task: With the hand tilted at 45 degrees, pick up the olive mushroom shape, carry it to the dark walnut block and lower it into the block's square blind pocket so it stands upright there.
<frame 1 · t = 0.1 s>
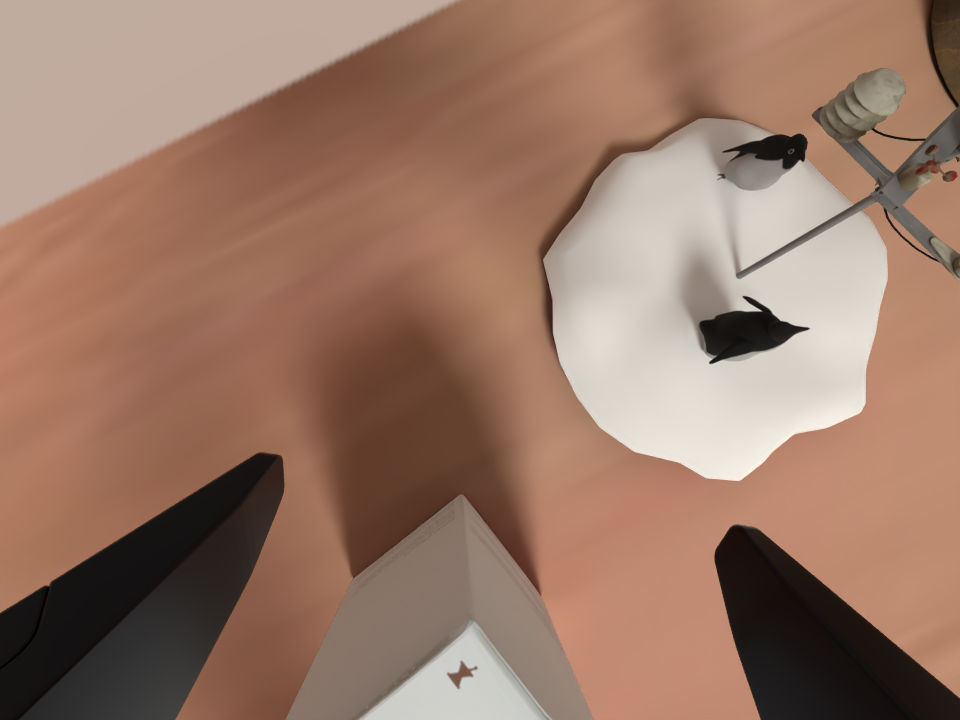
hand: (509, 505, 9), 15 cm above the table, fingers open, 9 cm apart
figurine: (708, 295, 25), on the table
supplement box: (448, 588, 23), on the table
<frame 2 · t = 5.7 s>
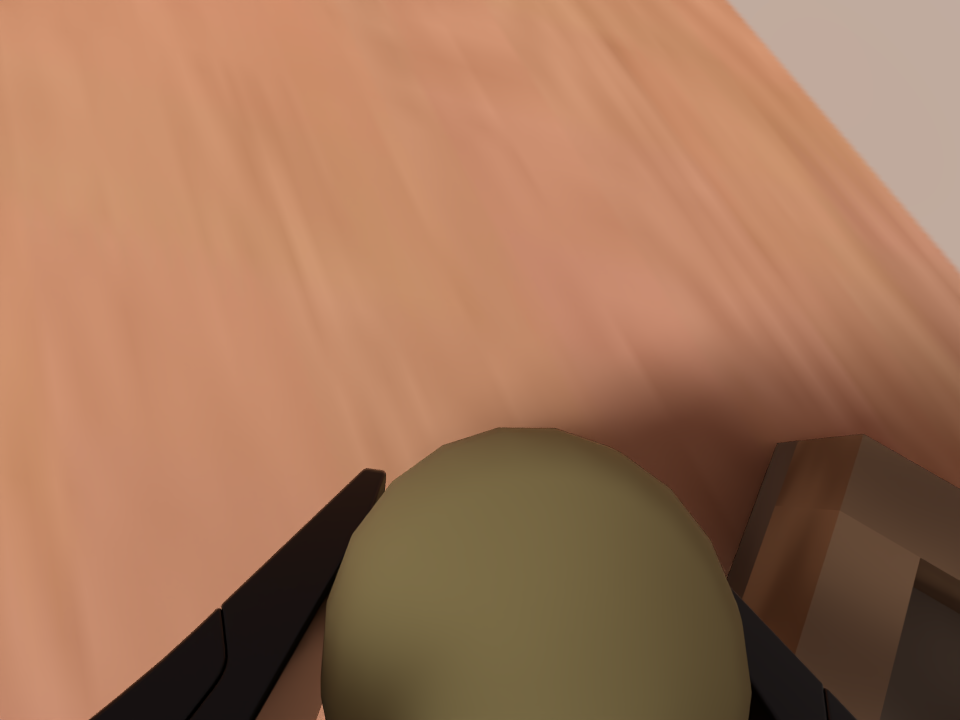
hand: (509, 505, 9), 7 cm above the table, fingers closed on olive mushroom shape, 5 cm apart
olive mushroom shape: (471, 537, 15), on the table, touching gripper
when the fingers open (9 cm above the table, at t = 9.6 s): olive mushroom shape stays where it is, resting on walnut pocket block.
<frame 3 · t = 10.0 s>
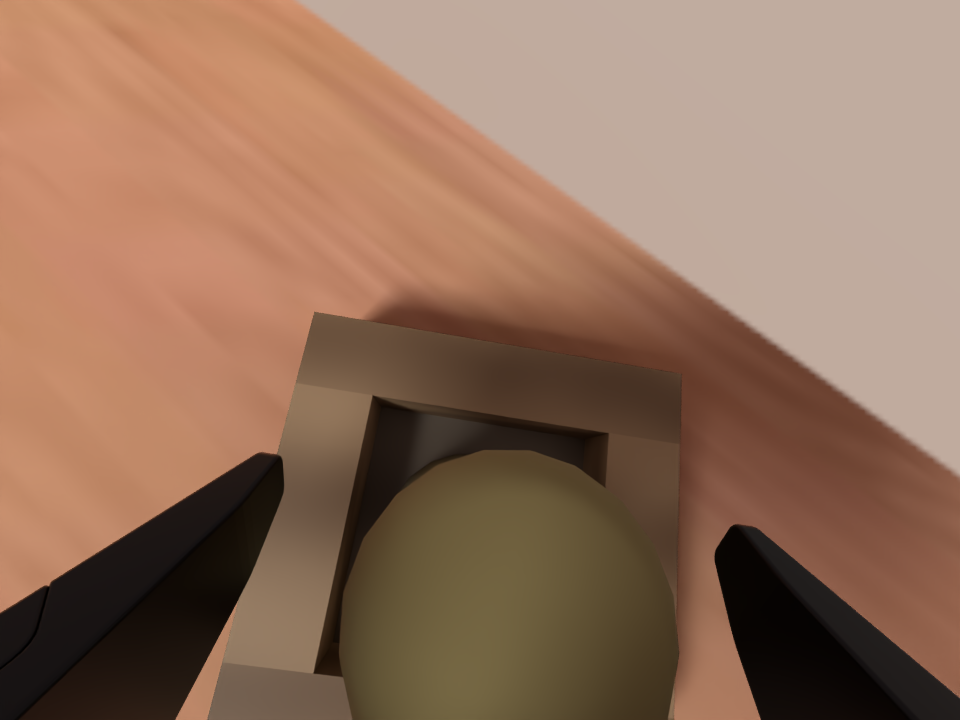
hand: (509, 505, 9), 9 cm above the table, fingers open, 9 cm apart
olive mushroom shape: (466, 537, 16), point 1 cm above the table, touching walnut pocket block
walnut pocket block: (467, 529, 17), on the table
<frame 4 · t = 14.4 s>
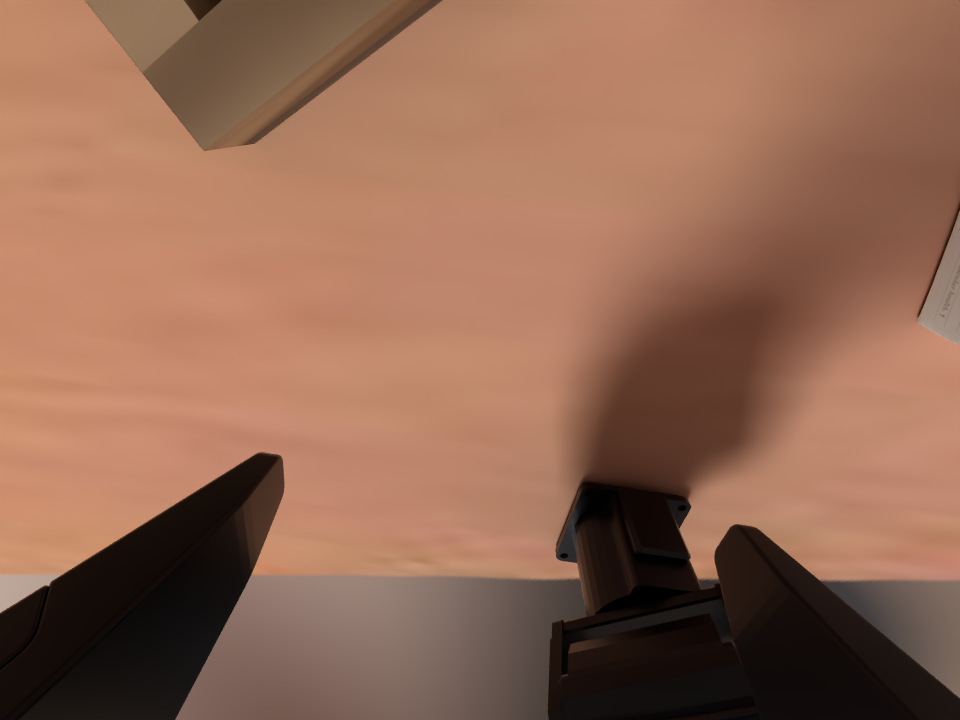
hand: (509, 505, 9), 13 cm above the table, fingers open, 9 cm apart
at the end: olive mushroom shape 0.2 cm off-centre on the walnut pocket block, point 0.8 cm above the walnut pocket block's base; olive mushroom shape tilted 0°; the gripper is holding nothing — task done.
